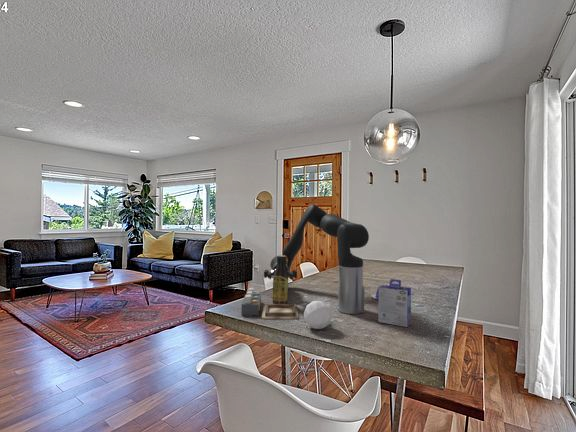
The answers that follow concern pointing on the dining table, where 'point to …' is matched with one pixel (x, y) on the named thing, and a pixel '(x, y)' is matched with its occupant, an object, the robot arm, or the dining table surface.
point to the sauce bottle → (280, 281)
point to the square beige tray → (280, 311)
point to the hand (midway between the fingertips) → (280, 276)
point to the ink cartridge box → (394, 304)
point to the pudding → (376, 294)
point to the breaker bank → (251, 303)
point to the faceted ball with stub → (317, 315)
